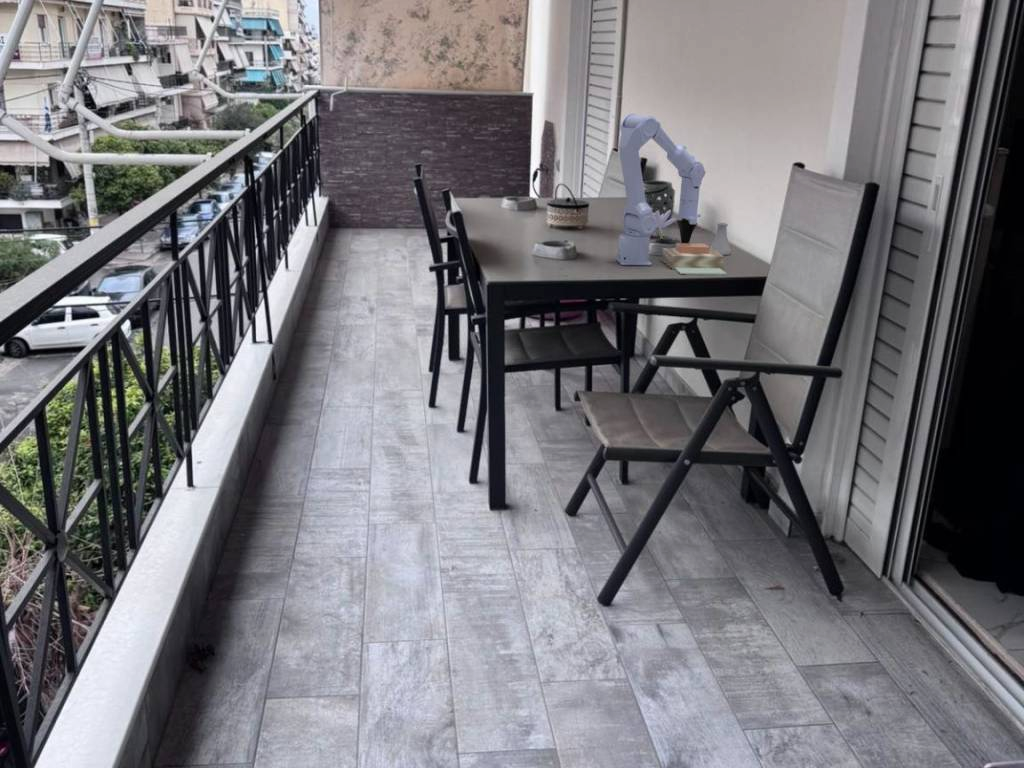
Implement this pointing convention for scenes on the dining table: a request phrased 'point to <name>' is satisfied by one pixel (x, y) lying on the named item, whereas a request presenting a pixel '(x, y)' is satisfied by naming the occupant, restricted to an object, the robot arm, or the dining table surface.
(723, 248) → the flask
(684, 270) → the mat
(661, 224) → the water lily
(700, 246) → the tile
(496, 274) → the dining table surface
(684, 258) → the plate
